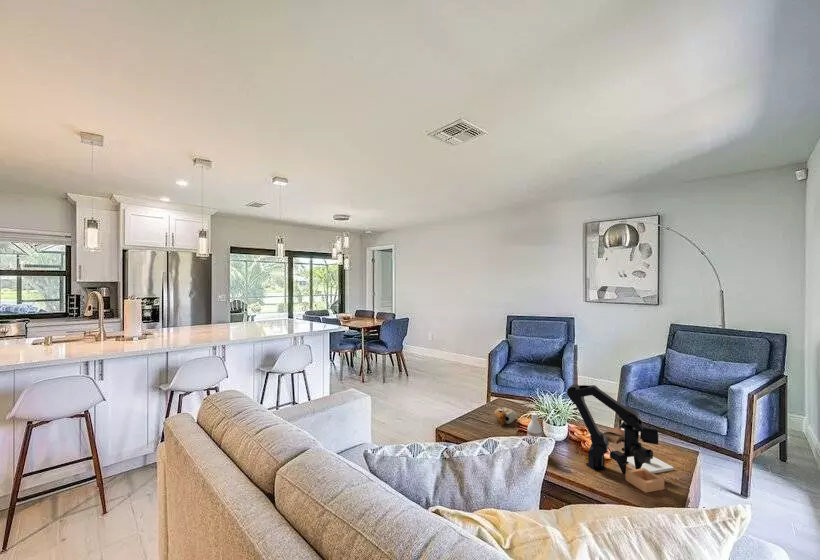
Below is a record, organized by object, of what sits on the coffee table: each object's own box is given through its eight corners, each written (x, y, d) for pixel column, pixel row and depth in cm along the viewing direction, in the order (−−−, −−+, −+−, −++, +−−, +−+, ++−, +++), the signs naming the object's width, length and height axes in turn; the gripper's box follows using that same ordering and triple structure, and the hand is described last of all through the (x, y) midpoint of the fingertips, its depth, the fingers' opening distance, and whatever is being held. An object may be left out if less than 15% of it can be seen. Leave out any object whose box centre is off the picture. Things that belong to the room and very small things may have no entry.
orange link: (645, 492, 156) (645, 483, 156) (618, 475, 169) (618, 466, 169) (664, 489, 158) (664, 479, 158) (635, 472, 172) (636, 463, 172)
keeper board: (646, 474, 170) (646, 463, 170) (621, 460, 183) (621, 449, 183) (673, 469, 174) (673, 458, 174) (647, 455, 188) (647, 445, 188)
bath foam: (524, 451, 192) (524, 412, 192) (534, 448, 195) (534, 410, 195) (533, 457, 186) (534, 417, 186) (544, 454, 189) (544, 415, 188)
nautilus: (506, 432, 217) (483, 426, 227) (522, 419, 233) (500, 414, 243) (505, 418, 217) (482, 413, 227) (521, 406, 233) (499, 402, 243)
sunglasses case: (616, 444, 200) (610, 431, 203) (605, 446, 205) (598, 434, 208) (631, 435, 211) (625, 423, 214) (620, 438, 216) (614, 426, 219)
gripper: (629, 449, 158) (629, 486, 158) (663, 444, 163) (663, 479, 163) (609, 438, 169) (608, 472, 169) (641, 433, 174) (641, 467, 174)
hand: (630, 473), depth 169 cm, fingers open, 7 cm apart
